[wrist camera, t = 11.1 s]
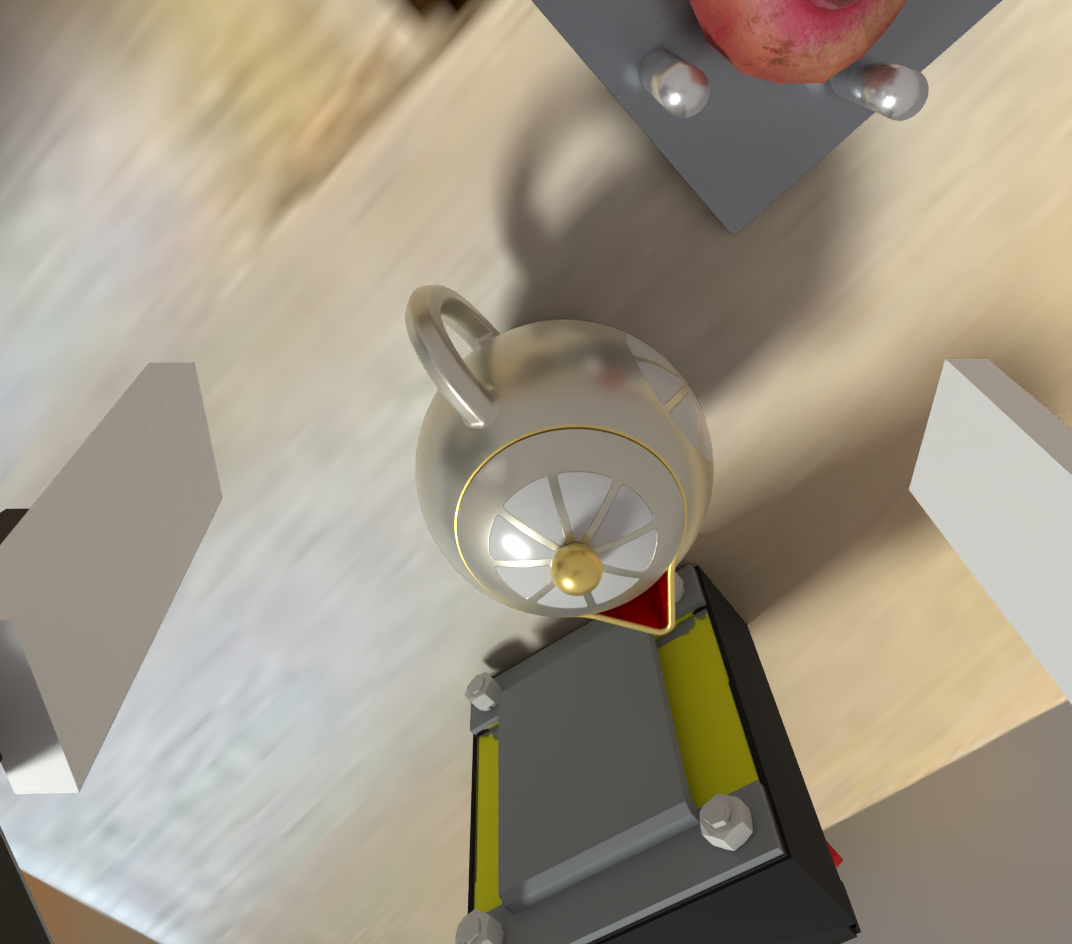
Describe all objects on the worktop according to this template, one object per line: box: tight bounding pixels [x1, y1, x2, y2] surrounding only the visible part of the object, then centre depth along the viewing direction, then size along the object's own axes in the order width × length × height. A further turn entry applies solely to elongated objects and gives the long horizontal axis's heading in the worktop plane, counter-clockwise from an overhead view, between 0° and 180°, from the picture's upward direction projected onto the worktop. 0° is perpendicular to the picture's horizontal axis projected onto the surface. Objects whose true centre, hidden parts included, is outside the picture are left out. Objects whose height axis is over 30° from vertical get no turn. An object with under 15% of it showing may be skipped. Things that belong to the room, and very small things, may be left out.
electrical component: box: [455, 564, 861, 944], centre depth 49 cm, size 18×10×20 cm, turn 127°
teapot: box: [405, 285, 714, 635], centre depth 39 cm, size 18×14×16 cm
